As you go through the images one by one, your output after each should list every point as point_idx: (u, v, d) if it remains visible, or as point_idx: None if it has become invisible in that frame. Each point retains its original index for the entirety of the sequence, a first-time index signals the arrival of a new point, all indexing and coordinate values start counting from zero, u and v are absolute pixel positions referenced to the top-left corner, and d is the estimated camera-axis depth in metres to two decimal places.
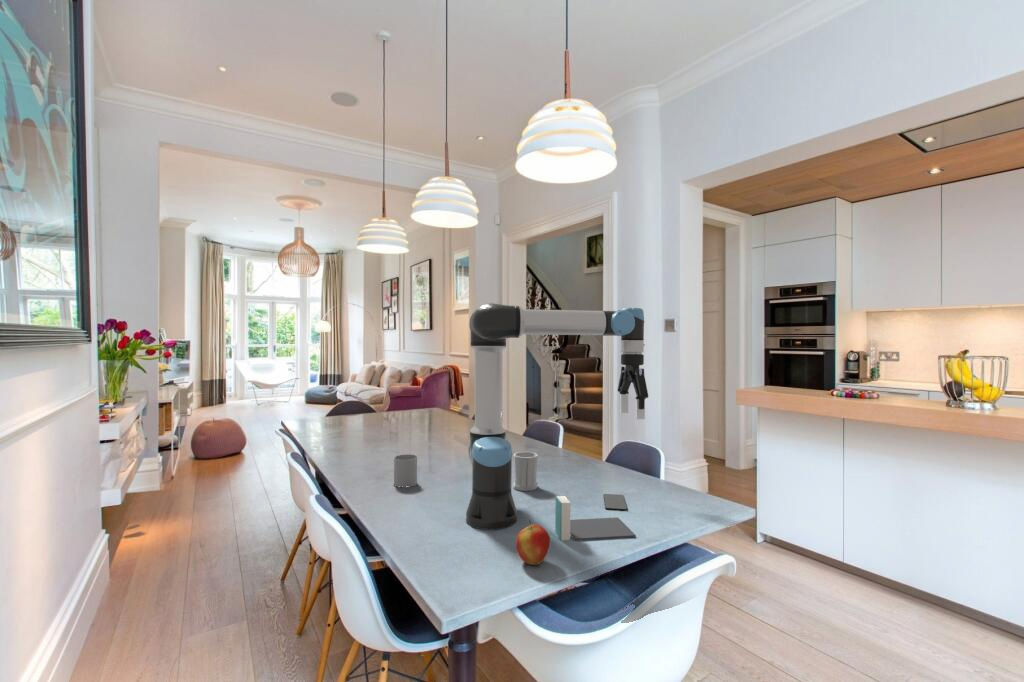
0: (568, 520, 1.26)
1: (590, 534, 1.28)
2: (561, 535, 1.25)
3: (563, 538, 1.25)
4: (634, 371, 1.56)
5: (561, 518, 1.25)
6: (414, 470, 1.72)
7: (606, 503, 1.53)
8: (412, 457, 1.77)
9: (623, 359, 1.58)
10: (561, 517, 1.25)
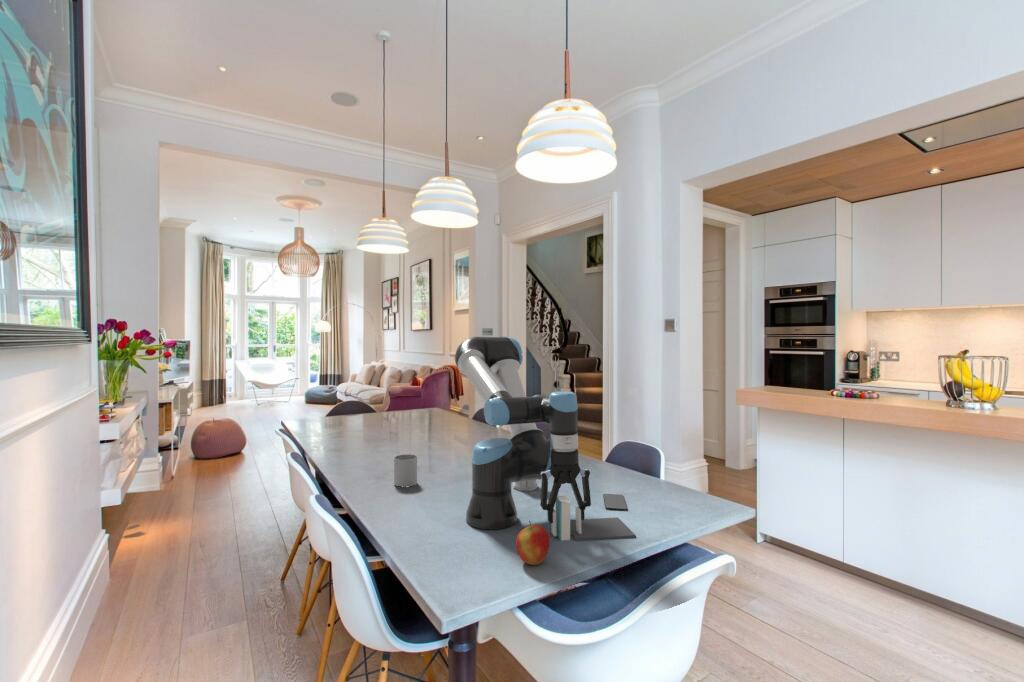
0: (568, 520, 1.26)
1: (590, 534, 1.28)
2: (561, 535, 1.25)
3: (563, 538, 1.25)
4: None
5: (561, 518, 1.25)
6: (414, 470, 1.72)
7: (606, 503, 1.53)
8: (412, 457, 1.77)
9: None
10: (561, 517, 1.25)
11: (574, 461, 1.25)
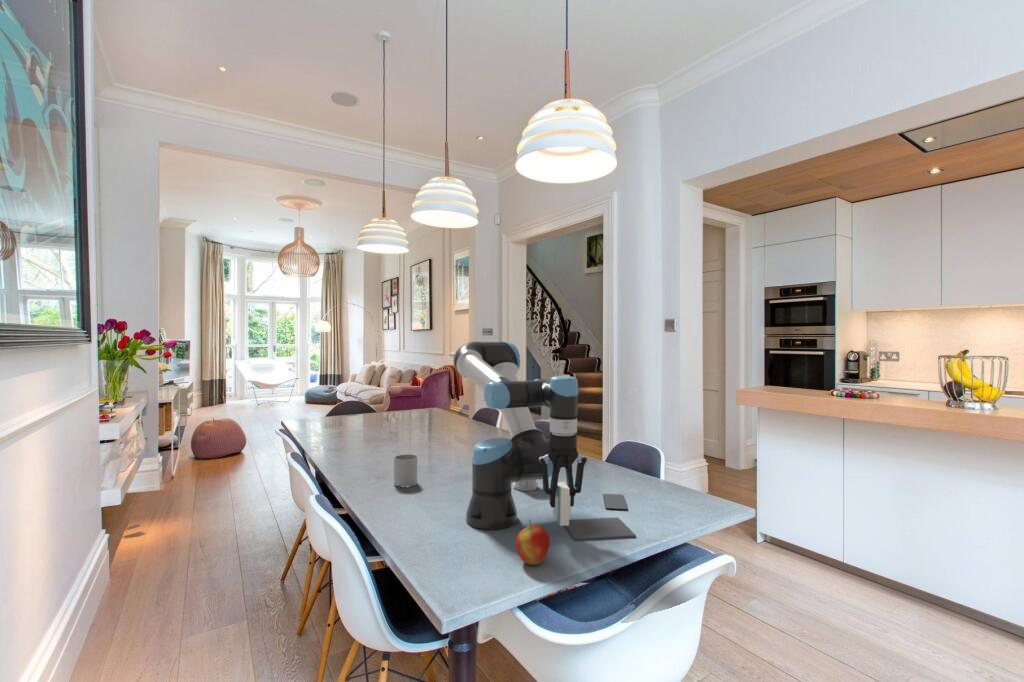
0: (567, 506, 1.26)
1: (590, 534, 1.28)
2: (560, 520, 1.26)
3: (562, 523, 1.26)
4: None
5: (560, 504, 1.26)
6: (414, 470, 1.72)
7: (606, 503, 1.53)
8: (412, 457, 1.77)
9: None
10: (560, 503, 1.26)
11: (572, 446, 1.25)
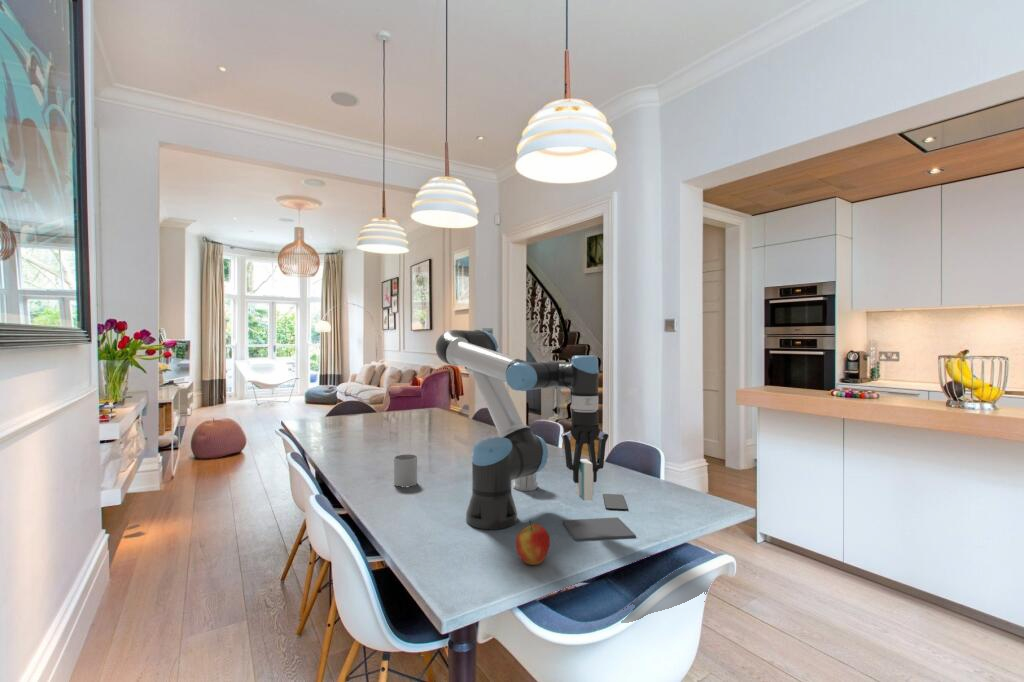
0: (590, 480, 1.29)
1: (590, 534, 1.28)
2: (584, 495, 1.29)
3: (586, 498, 1.29)
4: None
5: (584, 478, 1.29)
6: (414, 470, 1.72)
7: (606, 503, 1.53)
8: (412, 457, 1.77)
9: None
10: (584, 478, 1.29)
11: (594, 422, 1.29)
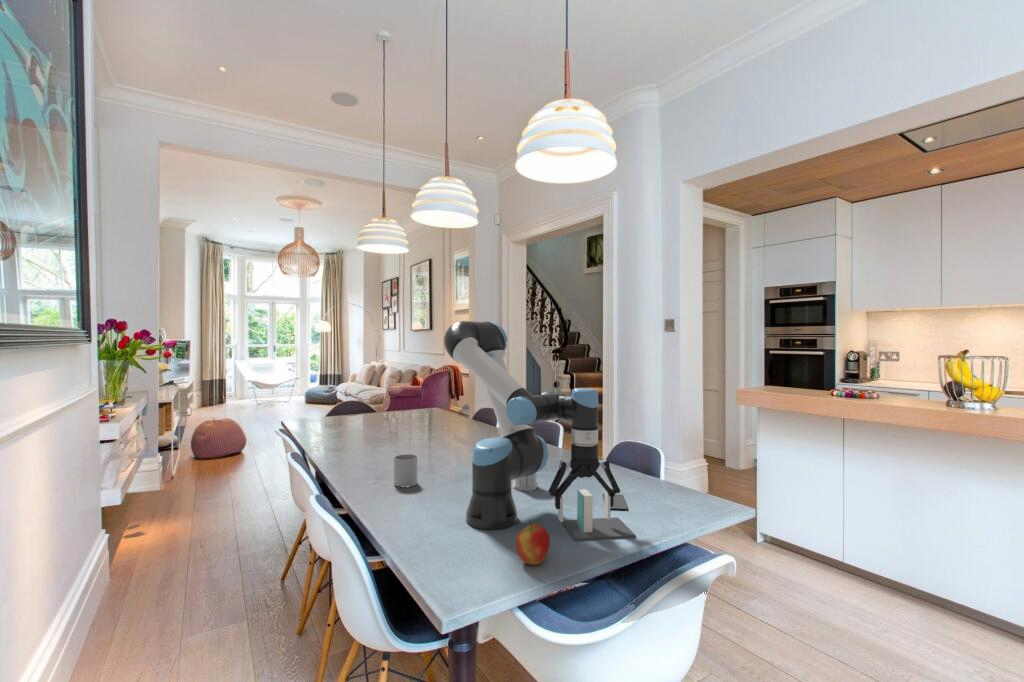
0: (590, 513, 1.29)
1: (590, 534, 1.28)
2: (583, 527, 1.29)
3: (585, 530, 1.29)
4: None
5: (583, 511, 1.29)
6: (414, 470, 1.72)
7: None
8: (412, 457, 1.77)
9: None
10: (583, 510, 1.29)
11: (594, 456, 1.29)
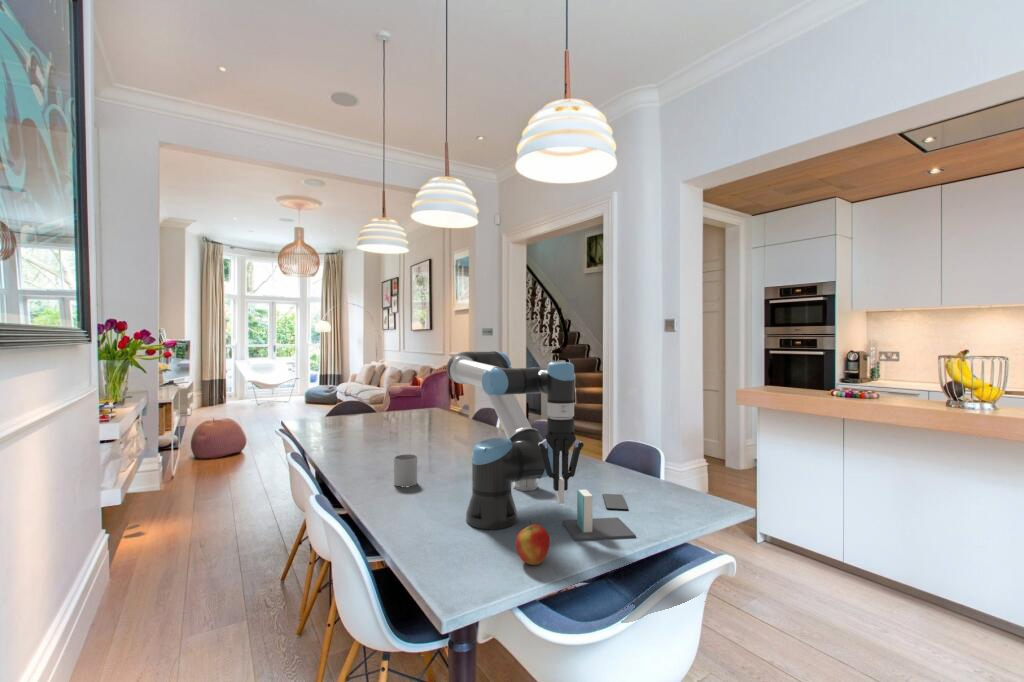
0: (590, 513, 1.29)
1: (590, 534, 1.28)
2: (583, 527, 1.29)
3: (585, 530, 1.29)
4: None
5: (583, 511, 1.29)
6: (414, 470, 1.72)
7: (606, 503, 1.53)
8: (412, 457, 1.77)
9: None
10: (583, 510, 1.29)
11: (570, 429, 1.28)
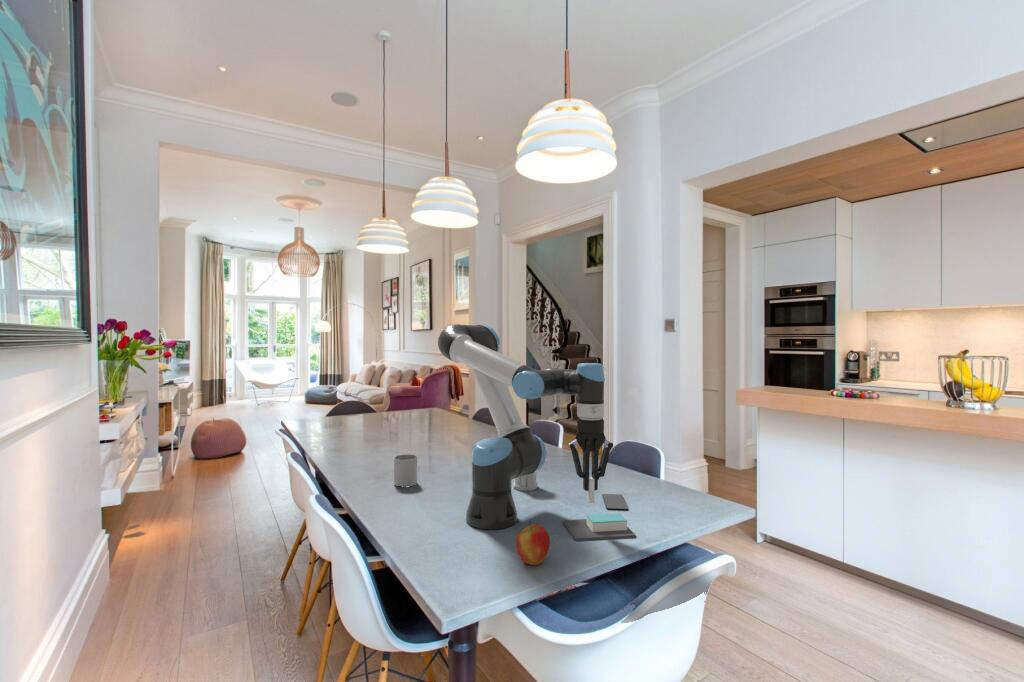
0: (610, 529, 1.30)
1: (590, 534, 1.28)
2: (597, 523, 1.30)
3: (594, 525, 1.30)
4: None
5: (613, 522, 1.30)
6: (414, 470, 1.72)
7: (607, 503, 1.53)
8: (412, 457, 1.77)
9: None
10: (613, 522, 1.30)
11: (600, 429, 1.29)
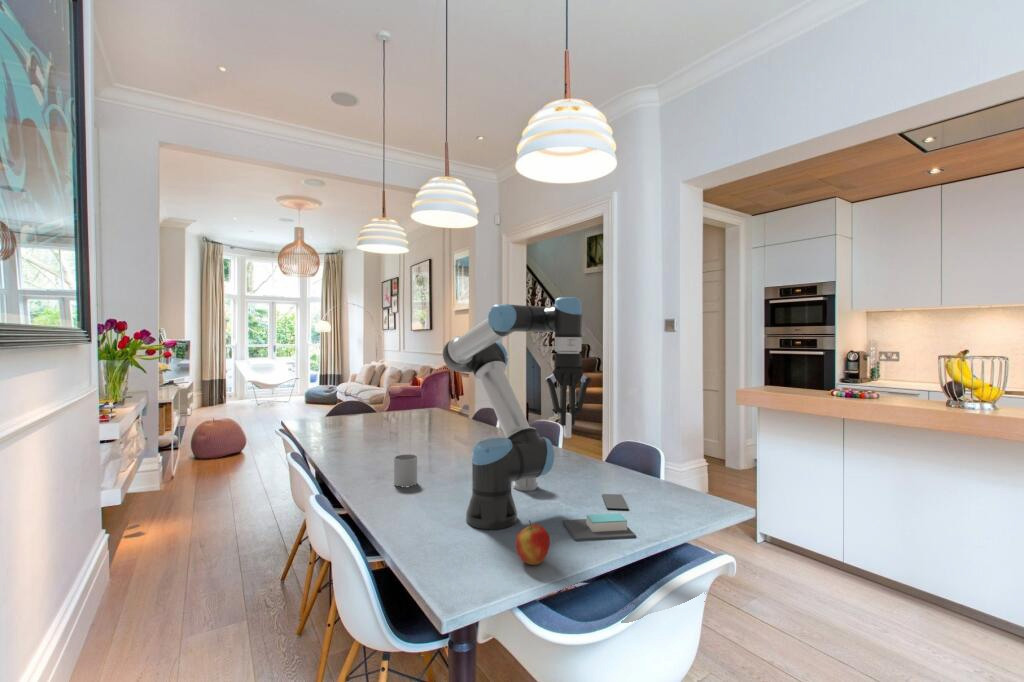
0: (610, 529, 1.30)
1: (590, 534, 1.28)
2: (597, 523, 1.30)
3: (594, 525, 1.30)
4: None
5: (613, 522, 1.30)
6: (414, 470, 1.72)
7: (607, 503, 1.53)
8: (412, 457, 1.77)
9: None
10: (613, 522, 1.30)
11: (577, 363, 1.29)
